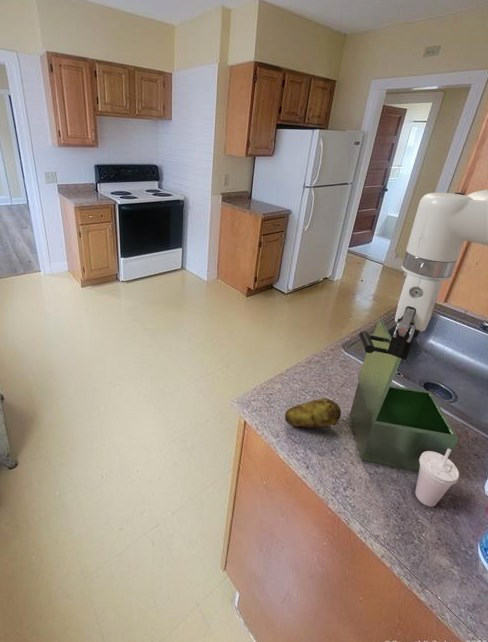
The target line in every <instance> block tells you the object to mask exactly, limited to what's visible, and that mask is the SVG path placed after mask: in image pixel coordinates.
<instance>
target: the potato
mask: <svg viewBox="0 0 488 642" xmlns="http://www.w3.org/2000/svg"><path fill="white" fill-rule="evenodd" d="M284 414H285V415H284V419H285V420H284V421H285V422H286V423H287V424H288V425H290V426H292V427H296V428H297V427H305V428H320V427H326V426H336V425H337V424H338V423H339V421H340V418H341V416H342V410H341V407H340V405H339V404H338V403H336V402H335V401H334V400H332V399H330V398H325V397H324V398H323V397H322V398H318V399H314V400H310V401H308V402H305V403H301V404H297V405H294V406H292V407H290V408H288V409H287V410H286V411H285V413H284Z"/></svg>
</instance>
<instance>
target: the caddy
mask: <svg viewBox="0 0 488 642" xmlns="http://www.w3.org/2000/svg"><path fill="white" fill-rule="evenodd" d="M357 381H358V380H357ZM356 385H357V386H356V389H355V393H354V395H353V396H354V397H353V401H352V405H351V409H350V412H349V417H350V421H351V425H352V429H353V433H354V436H355V441H356V445H357V449H358V452H359V457H360V461H362V462H367V463H372V464H377V465H382V466H387V467H391V468H396V469H397V468H398V469H402V470H406V471H412V472H417V473H419V469H420V462H419V459H420V457H421V455H422V453H423V452H426V451H433V452H437V453H439V454H441V455H443V456H445V454H446V451H447V449H451V452H450V454H449V457H448V459H449V460H450V458H451V456H452V454H453V451H454V449H455V447H456V445H457V443H458V441H459V436H458V435H457V433H456V431H455V430H454V428H453V426H452V424H451V423H450V422H449V420H448V418H447V416H446V414H445V413H444V411H443V410H442V408H441V406H440V405H439V403H438V401H437V399H436V398H435V396H434V395H433V393H432V391H430V390H424V389H417V388H412V387H403V386H399V385H392V384H391V385H390V388H389V390H388V392H387V395H386V397H385V399H384V402H383V404H382V407H381V409H380V411H379V414H378V416H377V419H376V421H375V422H374V421H371V418H370V415H369V412H368V409H367V406H366V403H365V400H364V397H363V394H362V391H361V388H360V384H359V381H358V382H357V384H356Z"/></svg>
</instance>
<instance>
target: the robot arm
mask: <svg viewBox="0 0 488 642" xmlns="http://www.w3.org/2000/svg"><path fill="white" fill-rule="evenodd" d="M464 242H470V243H474V244H480V245H484V246H488V189H483V190H477V191H473V192H471V193H469V194H467V195H464V194H459V193H452V192H430V193H426V194H424V195H423V196H422V197H421V199H420V201H419V203H418V206H417V210H416V213H415V217H414V221H413V224H412V227H411V231H410V235H409V239H408V242H407V245H406V249H405V254H404V256H403V260H402V264H401V270H402V271H404V272H405V273H406V276H405V279H404V282H403V286H402V289H401V293H400V297H399V300H398V303H397V306H396V307H397V308H396V312H395V316H394V322H395V323H396V327H395V330H394V332H393V333H392V335H391V337H392V338H391V341H390V345H389V348H388V353H389V354H391V355H393V356H396V357H398V358H401V360H403V361H404V360H405V361H406V360H407V359H408V356H409V354H410V351H411V347H412V345H413V340H412V338H417V337H418V336H419V334H420V333H421V332H425V331H426V330H427V328H428V325H429V323H430V321H431V318H432V315H433V312H434V309H435V306H436V303H437V301H438V298H439V294H440V291H441V287H442V283H443V281H448V280H450V279H451V278H452V275H453V273H454V270H455V266H456V264H457V261H458V259H459V255H460V252H461V249H462V248H463V247H462V246H463V244H464ZM419 332H420V333H419Z"/></svg>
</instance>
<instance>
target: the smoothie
mask: <svg viewBox="0 0 488 642" xmlns="http://www.w3.org/2000/svg"><path fill="white" fill-rule="evenodd" d="M450 452H451V449H447V451H446V454H445V456H443V455H441V454H439V453H437V452H433V451H426V452H423V453H422V455H421V457H420V459H419V462H420V469H419V472H418V474H417V475H418V476H417V481H416V487H415V492H414V493H415V496H416V498H417V500H418V501H419V502H421V504H423V505H425V506H426V507H429V508H432V507H435V506H436V505H437V504H438V503H439V502H440V500H442V498H443V496H444V495H445V494H446V493H447V492H448V490H449V489H450V488H451V487H452V486H453V485H455V484H457V482H458V481H459V477H460V472H459V470H458V468H457V465H455V464H454V462H453V461H452V460H450V458H449V459H448V457H449V454H450Z"/></svg>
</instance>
